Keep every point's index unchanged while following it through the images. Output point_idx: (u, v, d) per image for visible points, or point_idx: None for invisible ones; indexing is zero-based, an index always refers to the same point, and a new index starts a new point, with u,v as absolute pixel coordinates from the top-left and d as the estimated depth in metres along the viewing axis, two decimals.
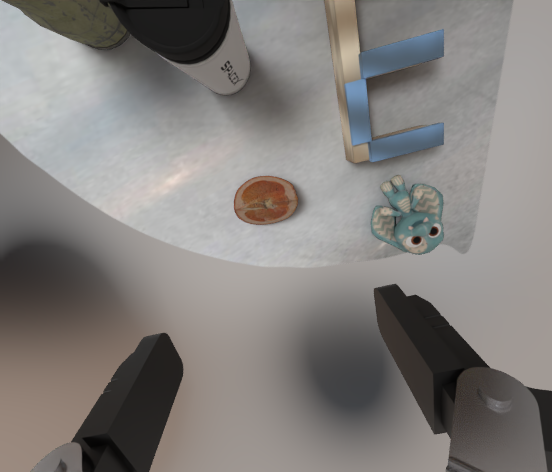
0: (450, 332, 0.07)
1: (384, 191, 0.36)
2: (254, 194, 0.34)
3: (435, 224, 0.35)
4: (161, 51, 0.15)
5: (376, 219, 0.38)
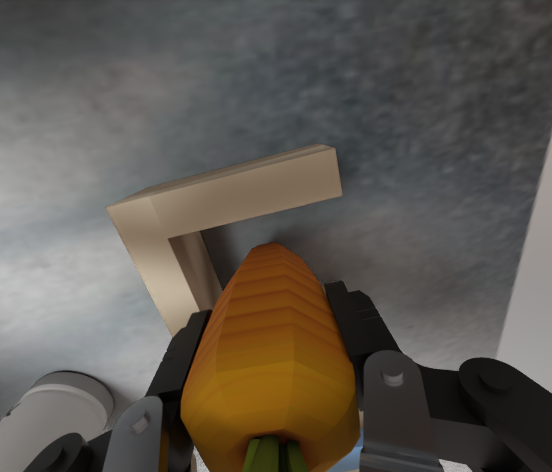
0: (378, 322, 0.08)
1: None
2: None
3: None
4: None
5: None
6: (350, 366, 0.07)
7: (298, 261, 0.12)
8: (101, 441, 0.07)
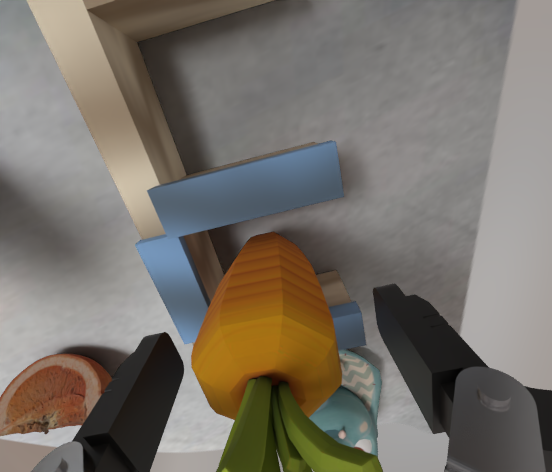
0: (449, 332, 0.07)
1: None
2: (30, 400, 0.18)
3: (359, 443, 0.19)
4: None
5: None
6: (331, 324, 0.08)
7: (292, 246, 0.13)
8: None
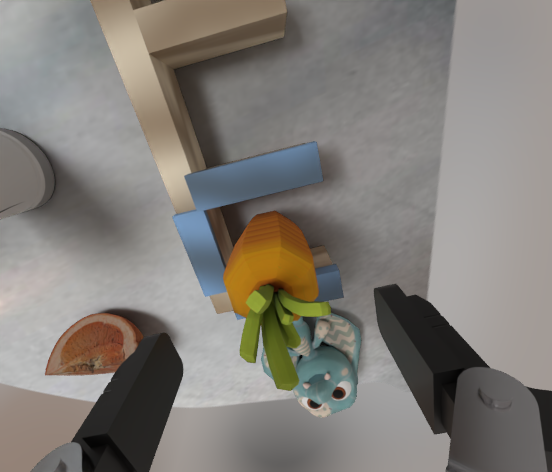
0: (450, 332, 0.07)
1: None
2: (79, 347, 0.23)
3: (340, 384, 0.23)
4: None
5: None
6: (311, 257, 0.13)
7: (288, 219, 0.18)
8: None
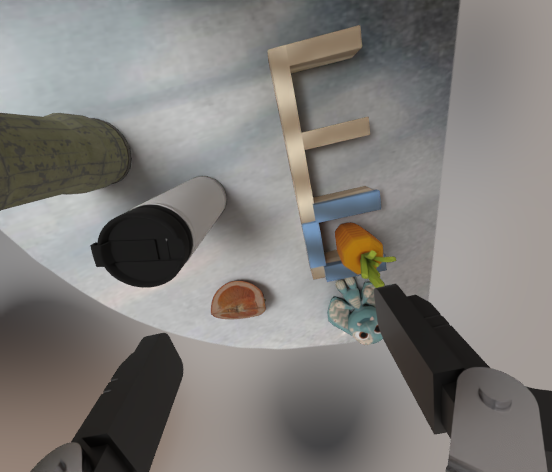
0: (450, 332, 0.07)
1: (338, 288, 0.41)
2: (229, 299, 0.40)
3: None
4: (139, 286, 0.21)
5: (332, 309, 0.43)
6: (381, 243, 0.30)
7: None
8: None
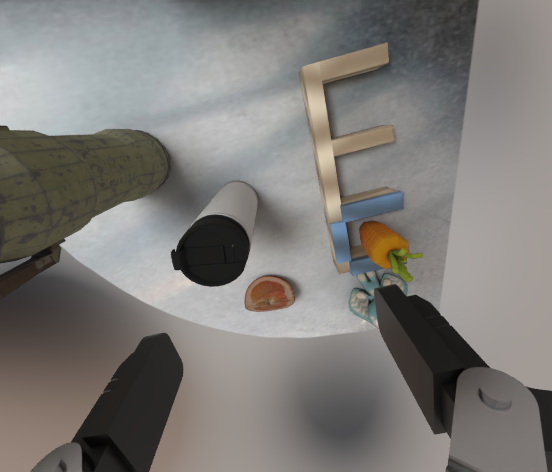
0: (450, 332, 0.07)
1: (359, 280, 0.45)
2: (260, 293, 0.43)
3: None
4: (208, 285, 0.24)
5: (353, 299, 0.47)
6: (406, 240, 0.33)
7: None
8: None
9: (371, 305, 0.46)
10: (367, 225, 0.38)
